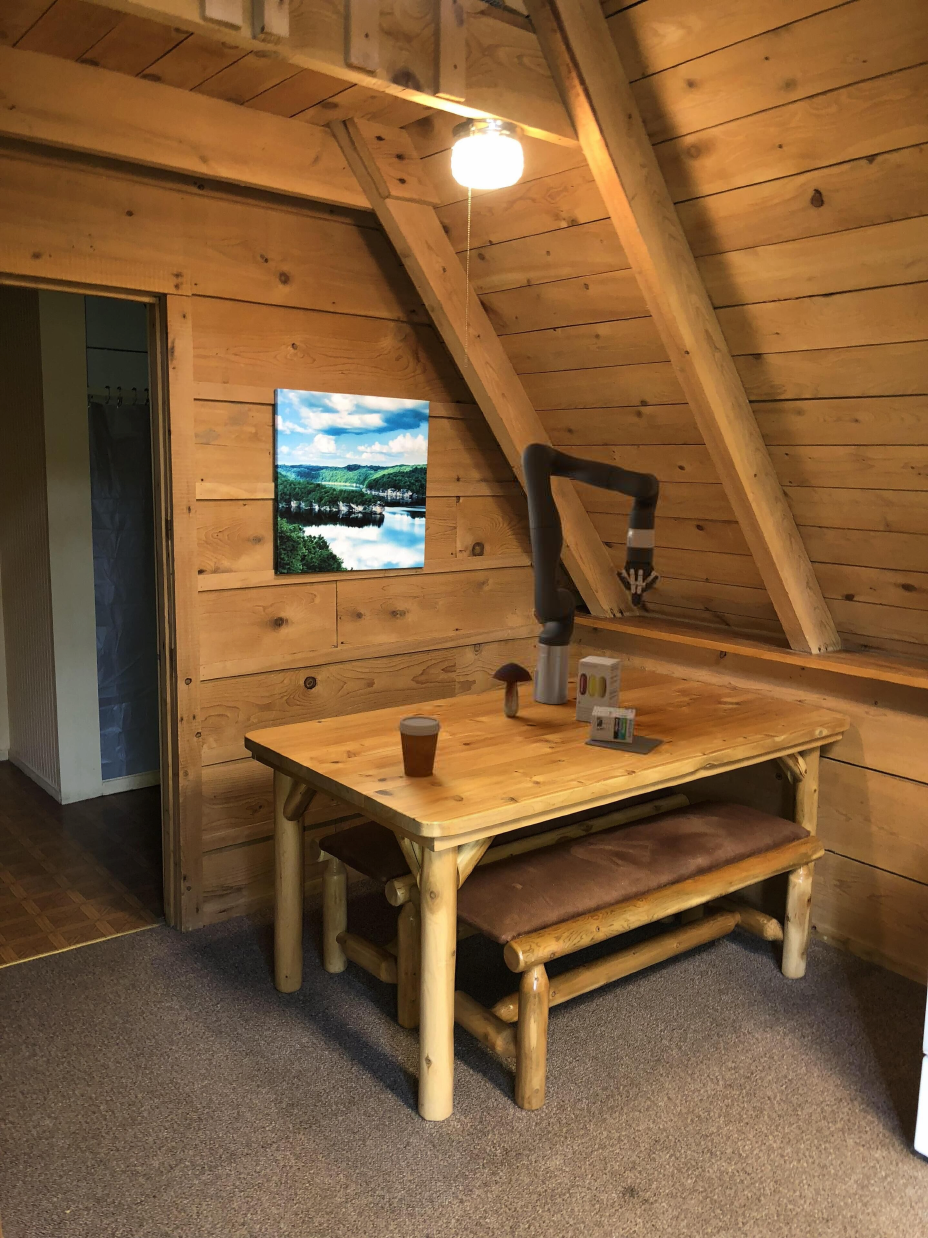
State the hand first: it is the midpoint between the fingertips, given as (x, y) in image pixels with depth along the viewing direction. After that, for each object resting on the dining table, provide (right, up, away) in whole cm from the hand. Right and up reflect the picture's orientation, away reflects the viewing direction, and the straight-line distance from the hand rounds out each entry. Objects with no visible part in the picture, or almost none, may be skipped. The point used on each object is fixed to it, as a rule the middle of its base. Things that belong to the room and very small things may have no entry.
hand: (636, 606), depth 281 cm
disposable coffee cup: (-59, -38, -58) cm, 91 cm away
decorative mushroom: (-36, -31, -6) cm, 48 cm away
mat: (-8, -35, -29) cm, 46 cm away
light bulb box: (-16, -30, -24) cm, 42 cm away
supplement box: (-12, -31, -6) cm, 34 cm away
